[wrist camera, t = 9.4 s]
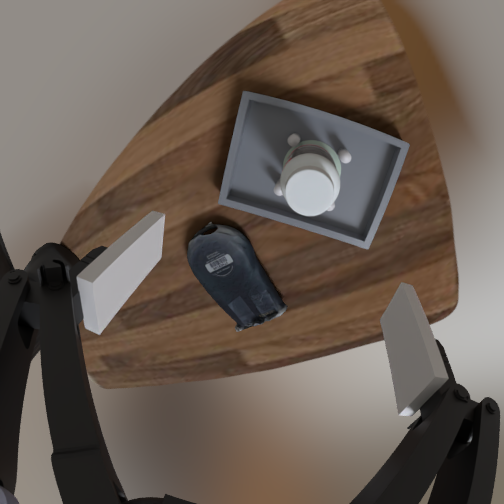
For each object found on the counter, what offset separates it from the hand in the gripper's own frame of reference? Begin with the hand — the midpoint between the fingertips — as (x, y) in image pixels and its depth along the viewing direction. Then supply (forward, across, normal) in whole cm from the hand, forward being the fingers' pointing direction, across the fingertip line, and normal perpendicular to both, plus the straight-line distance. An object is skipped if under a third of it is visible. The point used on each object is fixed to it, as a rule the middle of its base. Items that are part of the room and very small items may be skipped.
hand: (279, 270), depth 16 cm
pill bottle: (+20, +1, +2) cm, 20 cm away
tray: (+21, +2, +2) cm, 21 cm away
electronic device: (+21, -4, -15) cm, 26 cm away
